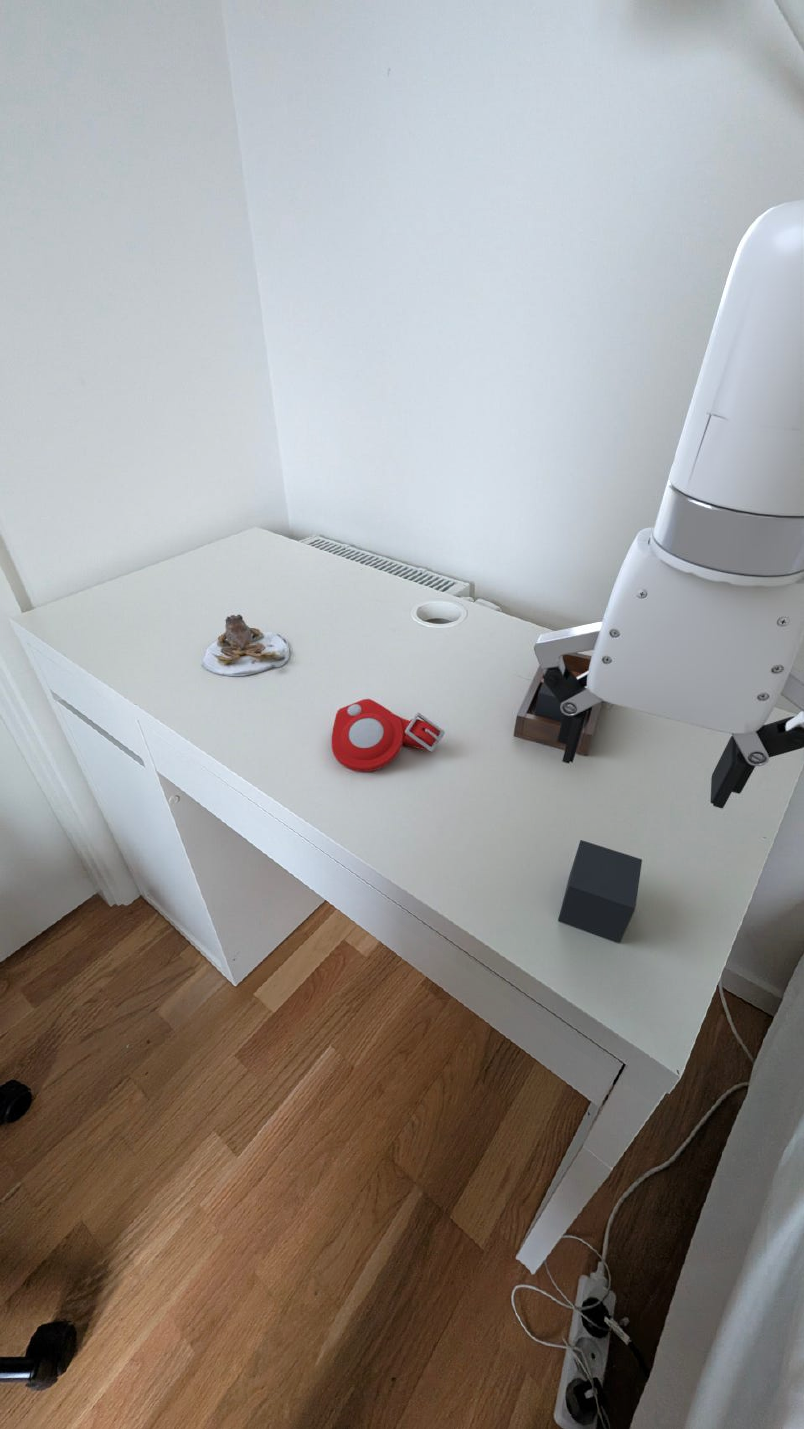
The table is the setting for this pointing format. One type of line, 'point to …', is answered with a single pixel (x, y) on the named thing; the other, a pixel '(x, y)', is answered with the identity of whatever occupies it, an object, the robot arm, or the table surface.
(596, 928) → the dark grey block
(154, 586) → the table surface
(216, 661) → the frog figurine
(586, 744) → the frame
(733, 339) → the robot arm
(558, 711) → the dark grey cube
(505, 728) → the table surface
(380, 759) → the tracker holder
